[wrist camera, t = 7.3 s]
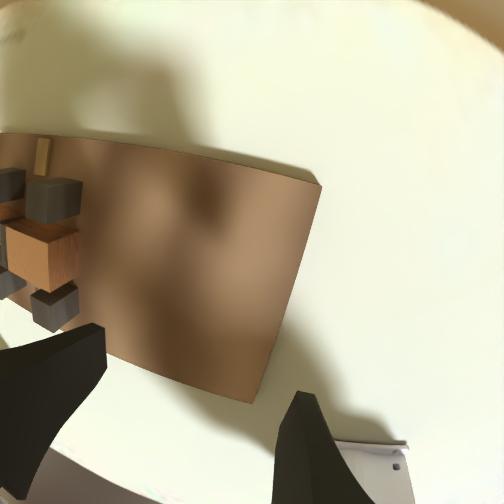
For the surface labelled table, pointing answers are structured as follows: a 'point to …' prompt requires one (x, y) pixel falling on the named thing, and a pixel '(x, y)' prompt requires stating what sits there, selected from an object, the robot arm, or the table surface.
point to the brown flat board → (164, 253)
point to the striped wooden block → (38, 249)
